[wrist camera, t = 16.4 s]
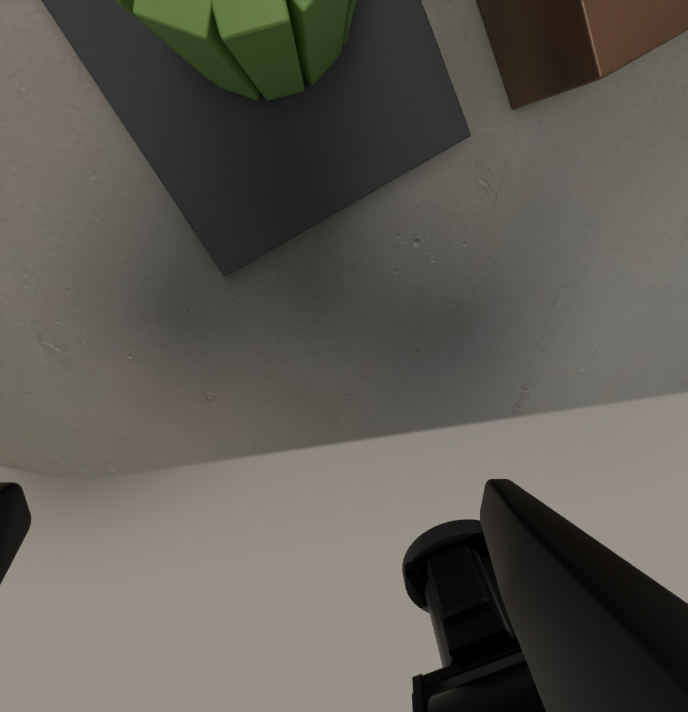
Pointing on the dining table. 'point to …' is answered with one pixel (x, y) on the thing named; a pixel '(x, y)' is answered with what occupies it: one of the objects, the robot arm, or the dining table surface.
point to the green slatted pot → (251, 39)
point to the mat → (273, 123)
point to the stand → (573, 40)
